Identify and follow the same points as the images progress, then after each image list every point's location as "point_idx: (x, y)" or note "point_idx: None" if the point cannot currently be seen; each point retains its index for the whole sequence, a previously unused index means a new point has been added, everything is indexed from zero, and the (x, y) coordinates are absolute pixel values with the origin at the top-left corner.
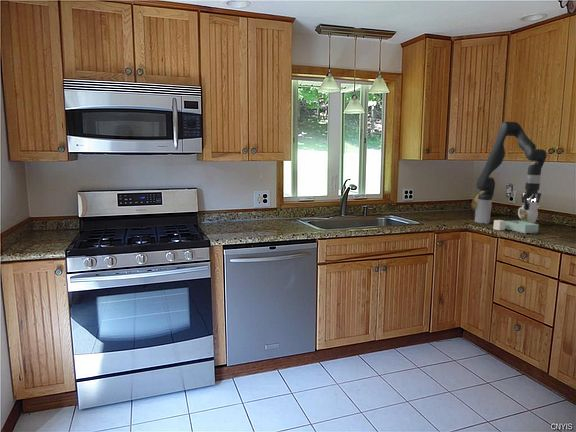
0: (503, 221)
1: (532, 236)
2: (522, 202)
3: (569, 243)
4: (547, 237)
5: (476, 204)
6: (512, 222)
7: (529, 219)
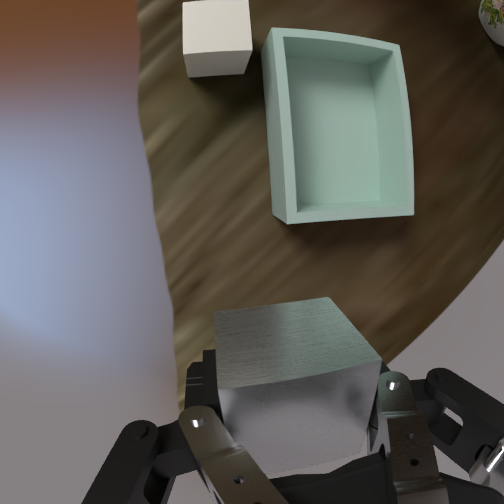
0: (222, 51)
1: (252, 294)
2: (133, 428)
3: None
4: None
5: None
6: (286, 87)
7: (501, 33)
